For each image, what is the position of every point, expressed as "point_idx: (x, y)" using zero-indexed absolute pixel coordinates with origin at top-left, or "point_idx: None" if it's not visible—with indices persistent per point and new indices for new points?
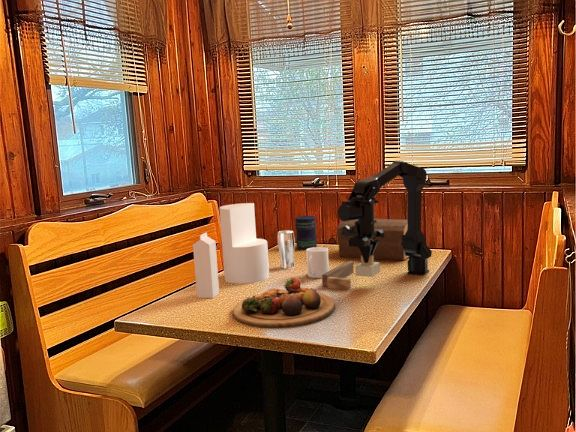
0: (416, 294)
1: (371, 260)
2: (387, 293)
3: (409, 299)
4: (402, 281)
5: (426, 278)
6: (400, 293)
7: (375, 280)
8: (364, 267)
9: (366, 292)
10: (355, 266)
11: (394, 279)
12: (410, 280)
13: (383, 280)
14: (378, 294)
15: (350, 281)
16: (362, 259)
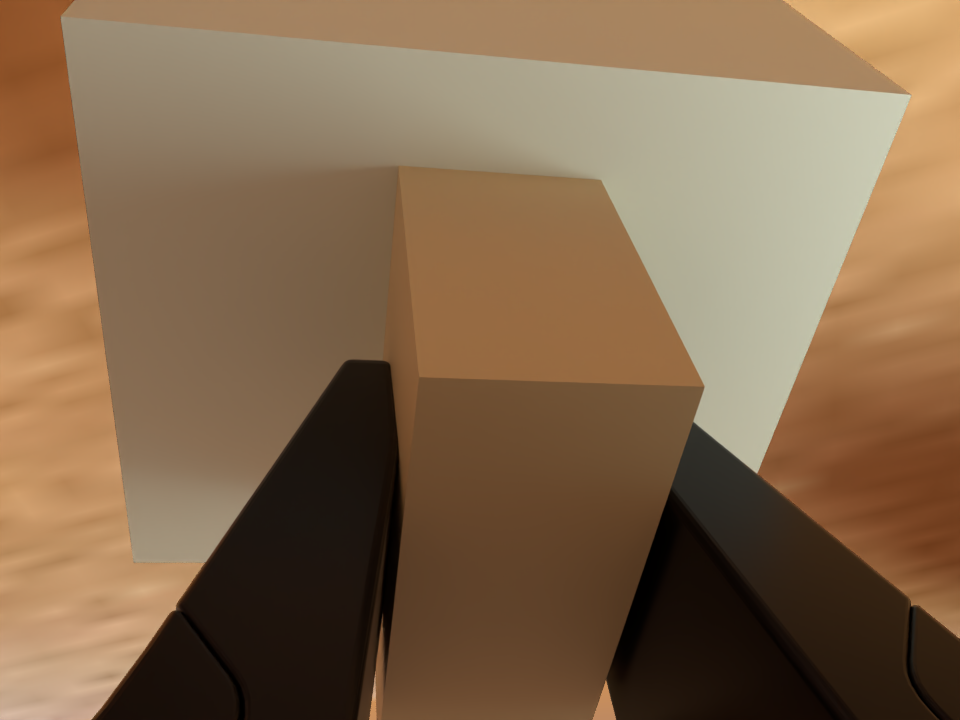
0: None
1: None
2: None
3: (32, 703)
4: (824, 460)
5: (953, 630)
6: None
7: (907, 69)
8: (119, 351)
9: (43, 158)
10: (72, 7)
11: (945, 343)
12: (873, 524)
13: (897, 207)
14: (36, 370)
15: None
16: (404, 334)
